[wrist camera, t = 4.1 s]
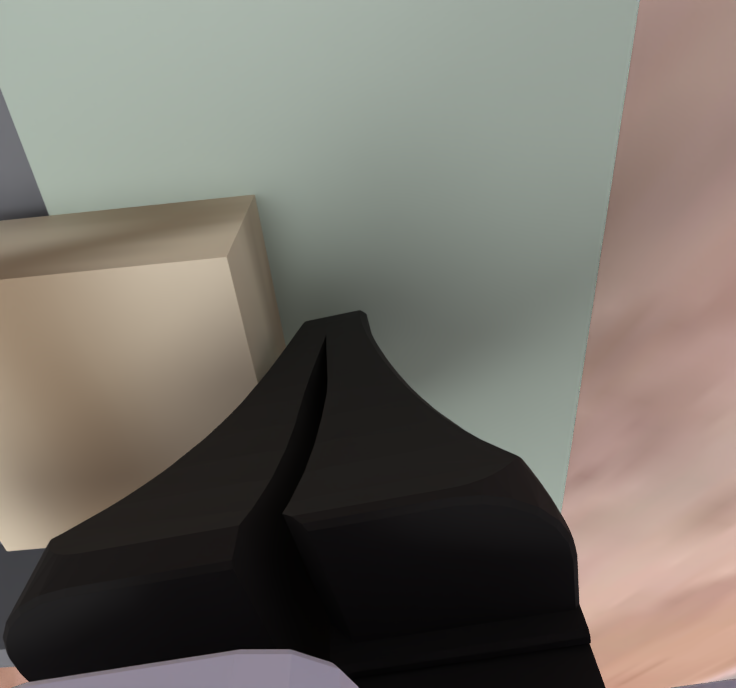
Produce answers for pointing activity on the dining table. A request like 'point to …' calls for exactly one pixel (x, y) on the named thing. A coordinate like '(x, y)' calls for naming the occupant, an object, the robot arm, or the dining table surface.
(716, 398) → the dining table surface
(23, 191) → the box
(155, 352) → the birch tile
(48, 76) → the far plate
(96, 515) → the robot arm
